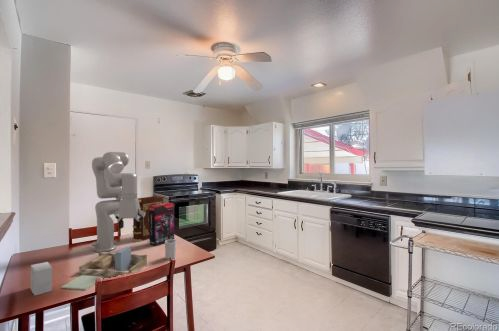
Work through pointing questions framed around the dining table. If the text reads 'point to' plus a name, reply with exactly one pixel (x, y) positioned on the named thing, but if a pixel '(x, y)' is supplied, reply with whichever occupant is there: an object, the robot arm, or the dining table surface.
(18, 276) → the dining table surface
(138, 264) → the mottled brown tray
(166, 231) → the graphics card box
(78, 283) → the mat
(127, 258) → the blue gray rectangular block
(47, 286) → the skincare box
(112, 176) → the robot arm
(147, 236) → the decorative book
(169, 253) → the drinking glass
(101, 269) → the offcut lower
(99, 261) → the offcut upper
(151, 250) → the dining table surface
